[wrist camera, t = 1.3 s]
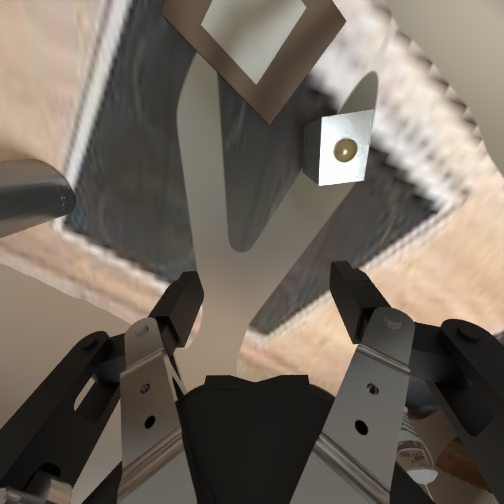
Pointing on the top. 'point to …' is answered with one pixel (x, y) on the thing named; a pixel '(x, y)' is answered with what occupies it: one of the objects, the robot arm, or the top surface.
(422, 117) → the top surface
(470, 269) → the top surface
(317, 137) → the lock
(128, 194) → the top surface
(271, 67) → the mount plate
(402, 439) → the french press
